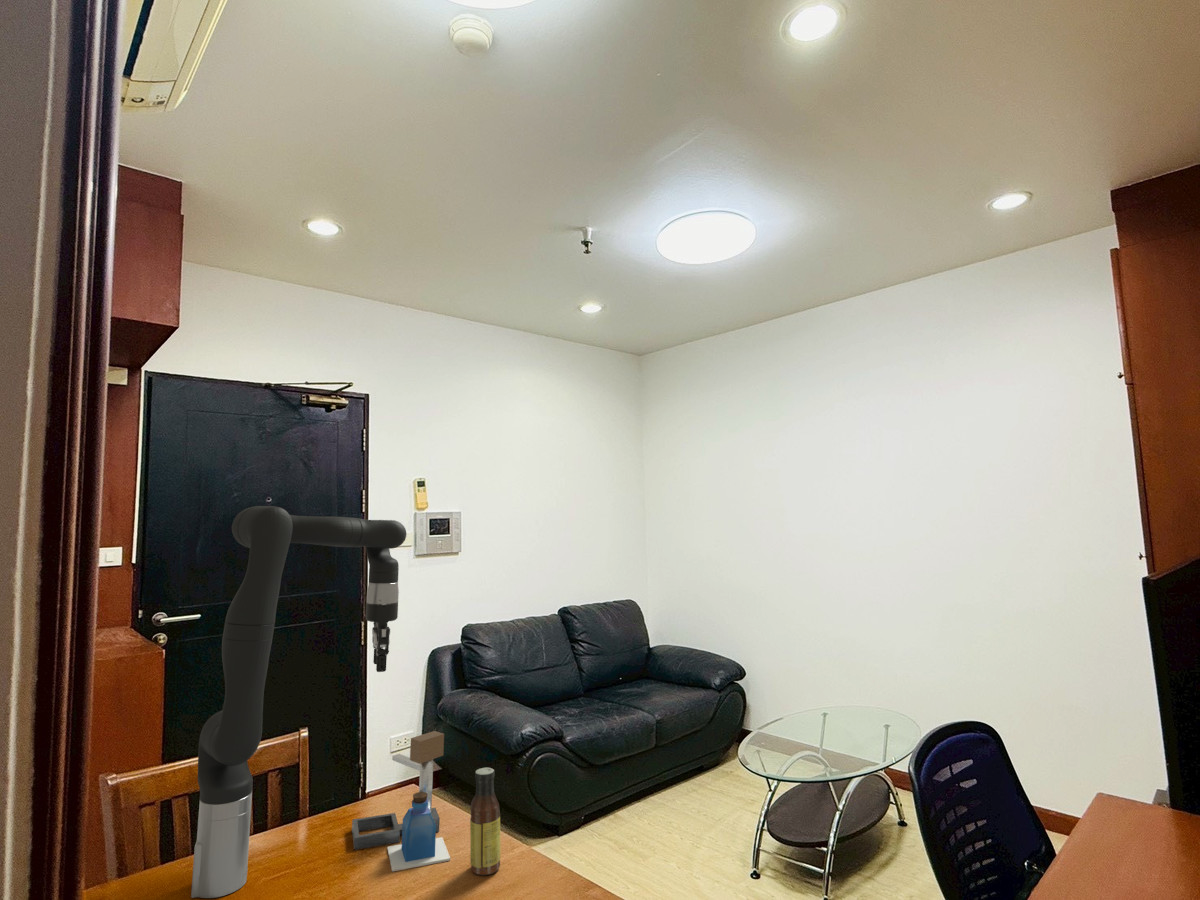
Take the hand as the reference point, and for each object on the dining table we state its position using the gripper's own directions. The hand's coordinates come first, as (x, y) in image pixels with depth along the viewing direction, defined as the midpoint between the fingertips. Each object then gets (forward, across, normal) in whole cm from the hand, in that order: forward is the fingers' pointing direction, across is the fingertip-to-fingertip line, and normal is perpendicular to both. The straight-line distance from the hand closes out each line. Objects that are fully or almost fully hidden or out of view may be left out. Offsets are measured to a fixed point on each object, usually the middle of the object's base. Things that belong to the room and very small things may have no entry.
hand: (379, 667), depth 163 cm
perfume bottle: (+36, +20, +8) cm, 42 cm away
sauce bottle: (+36, +31, +20) cm, 52 cm away
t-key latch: (+33, +4, +8) cm, 34 cm away
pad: (+36, +20, +8) cm, 42 cm away
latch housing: (+36, +8, +5) cm, 37 cm away
